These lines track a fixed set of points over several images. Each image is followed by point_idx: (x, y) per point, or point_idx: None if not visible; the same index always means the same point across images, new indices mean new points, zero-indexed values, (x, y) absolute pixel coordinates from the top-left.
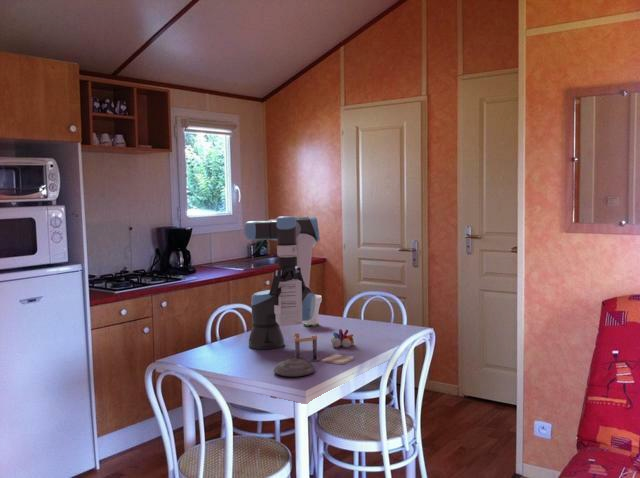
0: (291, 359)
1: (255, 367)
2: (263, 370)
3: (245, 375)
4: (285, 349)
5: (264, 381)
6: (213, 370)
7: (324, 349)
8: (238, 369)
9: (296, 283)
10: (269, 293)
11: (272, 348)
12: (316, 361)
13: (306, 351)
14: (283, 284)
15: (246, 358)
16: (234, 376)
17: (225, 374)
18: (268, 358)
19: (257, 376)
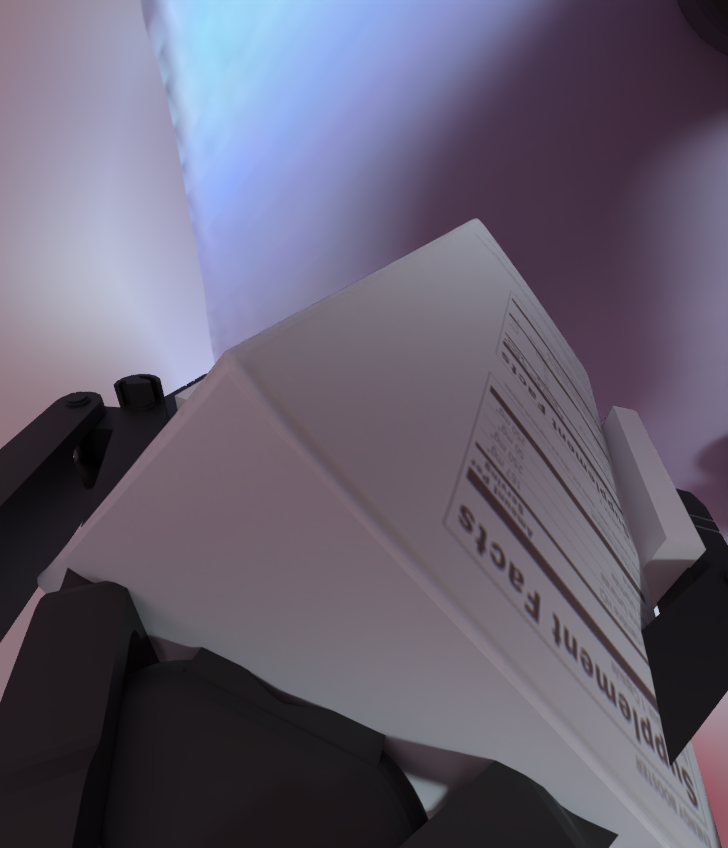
0: None
1: (306, 217)
2: (292, 276)
3: (220, 245)
4: (695, 152)
5: (218, 342)
6: (181, 40)
7: (712, 391)
8: (251, 159)
9: None
10: (56, 403)
11: (699, 34)
12: None
13: (649, 314)
14: None
15: (410, 36)
16: (191, 211)
17: (184, 154)
18: (452, 181)
19: (236, 294)
